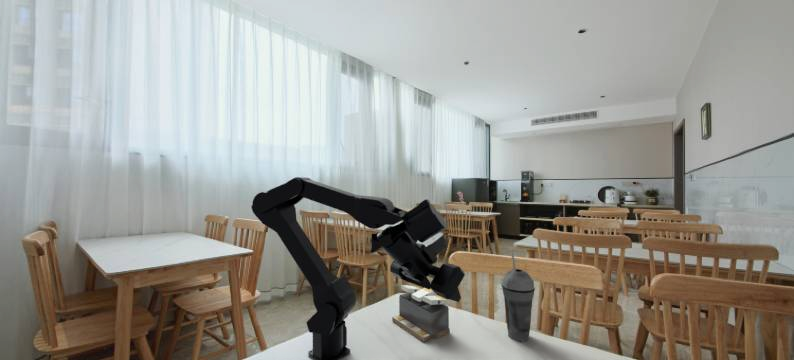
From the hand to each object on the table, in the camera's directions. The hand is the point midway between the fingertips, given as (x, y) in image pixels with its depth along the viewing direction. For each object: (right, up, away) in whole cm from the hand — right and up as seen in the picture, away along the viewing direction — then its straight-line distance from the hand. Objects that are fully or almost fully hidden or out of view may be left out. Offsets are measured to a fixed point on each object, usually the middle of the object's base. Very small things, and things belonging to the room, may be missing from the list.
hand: (444, 293), depth 68 cm
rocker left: (-7, -3, +12) cm, 15 cm away
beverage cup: (+18, -11, +3) cm, 21 cm away
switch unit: (-5, -11, +8) cm, 15 cm away
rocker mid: (-4, -3, +9) cm, 10 cm away
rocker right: (-2, -3, +5) cm, 6 cm away
